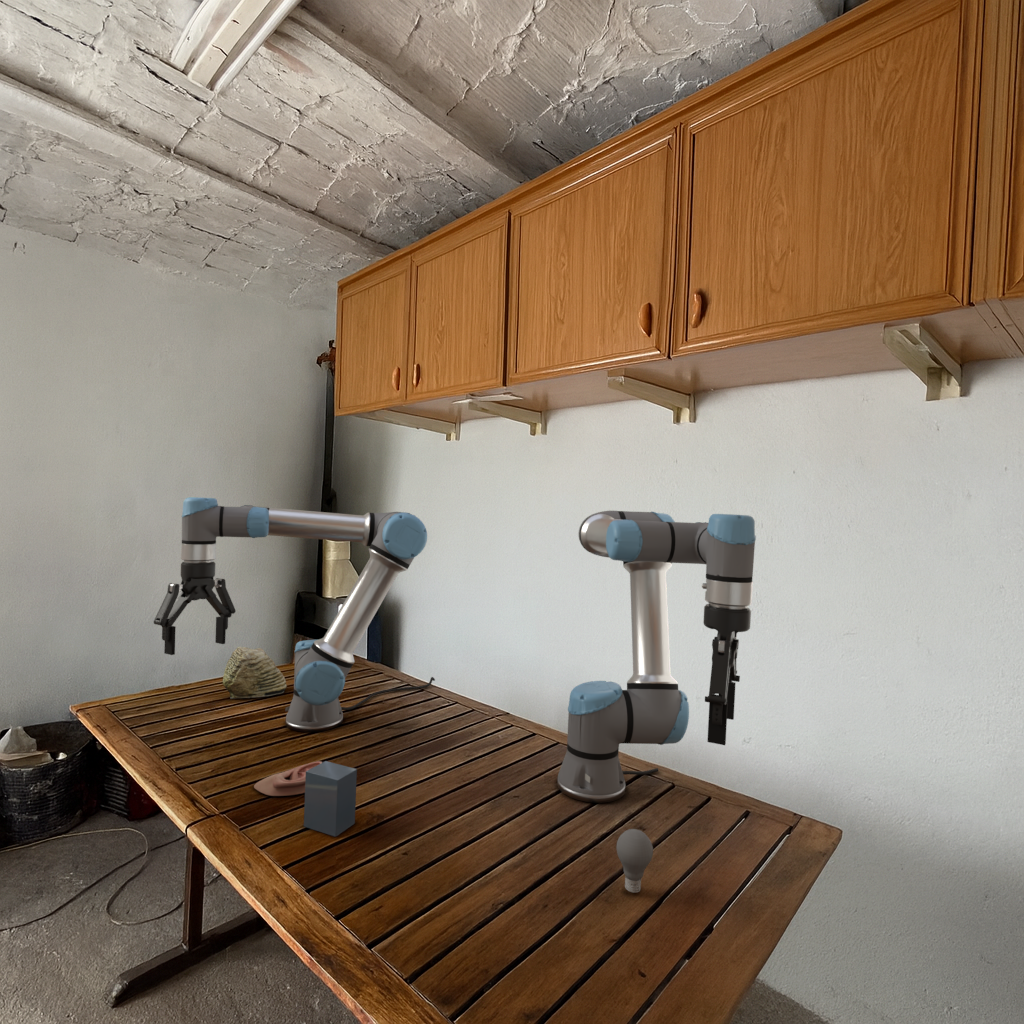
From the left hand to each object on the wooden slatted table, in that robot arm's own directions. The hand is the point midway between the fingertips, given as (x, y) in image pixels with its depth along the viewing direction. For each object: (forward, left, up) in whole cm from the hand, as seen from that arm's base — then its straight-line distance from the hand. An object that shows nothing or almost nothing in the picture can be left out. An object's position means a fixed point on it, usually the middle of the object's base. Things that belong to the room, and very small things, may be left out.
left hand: (195, 648), depth 154 cm
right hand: (-34, +116, +2) cm, 121 cm away
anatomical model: (-6, +33, -25) cm, 42 cm away
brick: (-2, +53, -25) cm, 59 cm away
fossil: (-33, -30, -25) cm, 51 cm away
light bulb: (-23, +107, -25) cm, 112 cm away
